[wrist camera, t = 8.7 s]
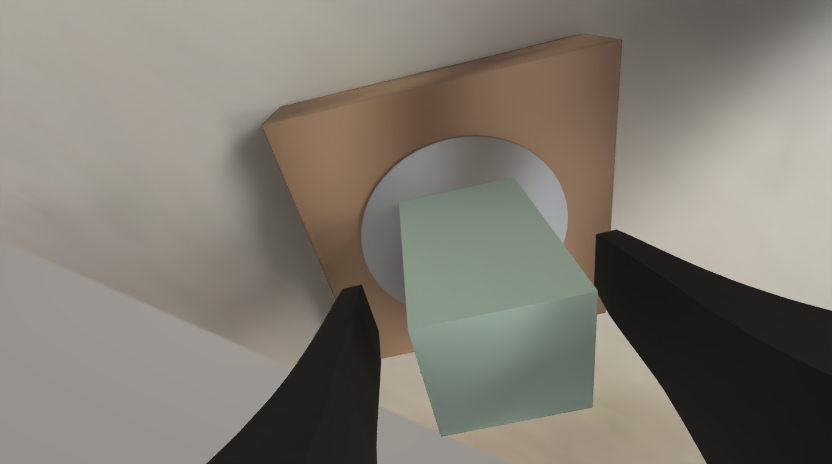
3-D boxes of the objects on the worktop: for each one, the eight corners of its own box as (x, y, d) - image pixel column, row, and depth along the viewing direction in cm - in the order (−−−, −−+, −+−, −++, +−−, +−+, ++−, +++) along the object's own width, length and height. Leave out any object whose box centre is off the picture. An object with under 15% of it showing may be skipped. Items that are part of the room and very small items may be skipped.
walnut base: (584, 33, 13) (625, 40, 11) (580, 277, 19) (607, 315, 17) (280, 106, 14) (260, 127, 12) (365, 322, 20) (362, 365, 17)
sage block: (514, 177, 13) (597, 290, 8) (521, 269, 15) (592, 407, 10) (399, 202, 13) (407, 330, 8) (422, 290, 15) (441, 436, 10)
